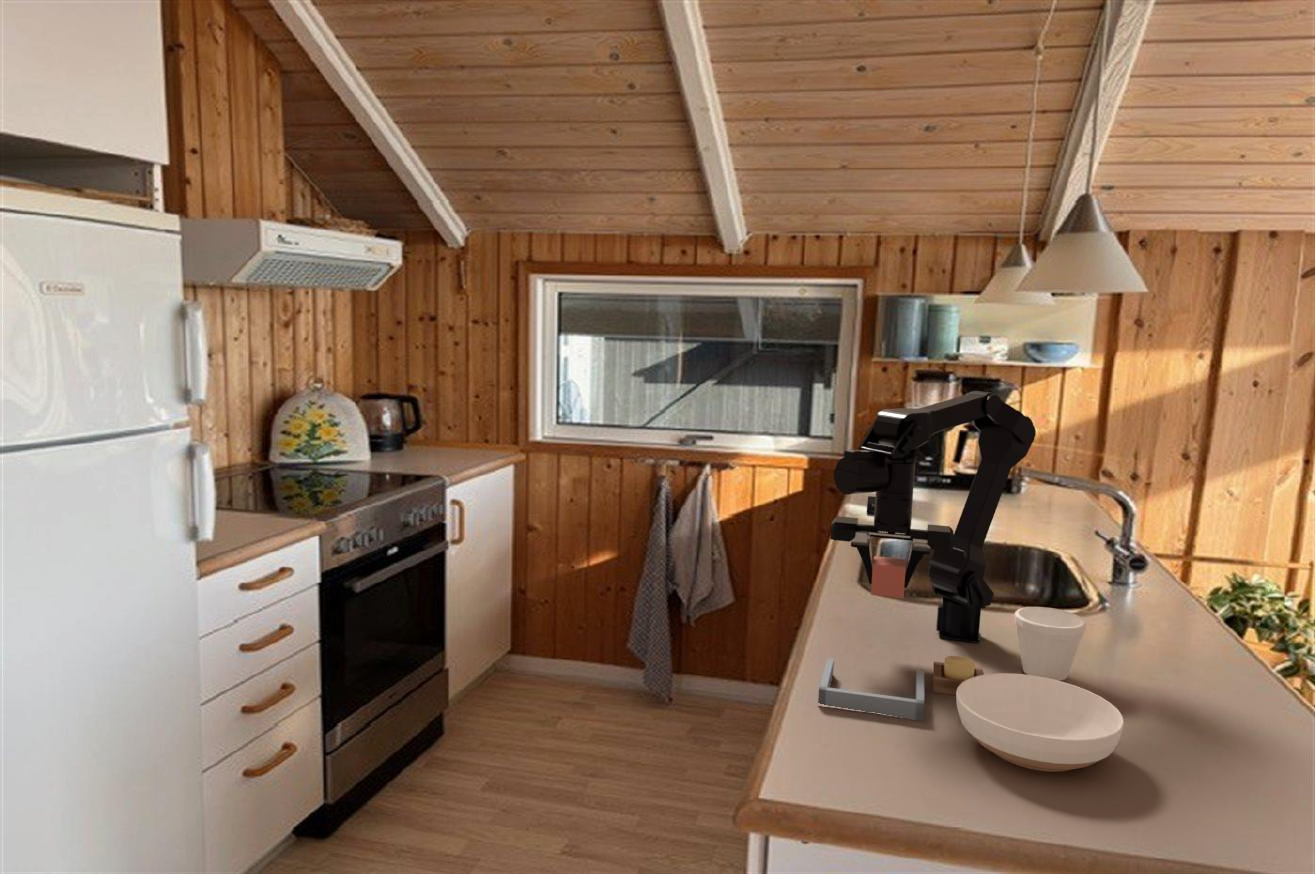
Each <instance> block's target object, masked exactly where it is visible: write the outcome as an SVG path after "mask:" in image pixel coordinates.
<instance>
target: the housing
mask: <svg viewBox="0 0 1315 874" xmlns="http://www.w3.org/2000/svg"><path fill="white" fill-rule="evenodd" d="M944 665H945V662H939V661H933V669H932V683H933V684H932V685H933V686H932V687H933V693H938V694H944V695H945V694H946V695H951V696H956V692H957V688H958V687H959V685H960V684H961V683H962V682H964V681H966V680H959V679H951V678H944ZM980 675H985V673H984V668H983V667H981V666H975V669H974V677H976V676H980Z"/></svg>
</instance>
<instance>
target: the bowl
mask: <svg viewBox="0 0 1315 874" xmlns="http://www.w3.org/2000/svg"><path fill="white" fill-rule="evenodd" d="M955 696H956V707H957V708H956V709H957V711H958V715H959V719H960V722H961V724H962V726H963V727H964V729H965V730H966V731H967V732H968V733H969V734H970V735H971V736H972V737H973V739H975V741H977V742H978V744H980V745H981V746H982V747H984V748H985V749H987V750H988V751H990V752H992V753H994V755H996V756H998V758H1000V759H1002V760H1004V761H1007V762H1008V763H1011V764H1014V765H1016V766H1018V767H1023V768H1026V769H1031V770H1035V771H1040V772H1052V773H1053V772H1055V773H1056V772H1065V771H1070V770H1077V769H1081V768H1082V769H1083V768H1087V767H1089V766H1092V765H1094V764H1095V763H1099V761H1101V760H1104V759H1106V758H1108V756H1110V755H1111V754H1112V753H1113V752H1114V750H1115V748H1116V746H1117V745H1118V743H1119V742H1120V739H1121V737H1122V733H1123V730H1124V725H1125V722H1124V721H1125V720H1124V717H1123V715H1122V713H1121V712H1120V710H1119V709H1118V708H1117V707H1116V706H1115V705H1113V703H1111V702H1110V701H1108V700H1106V699H1105V698H1104V697H1102V696H1100V695H1098V694H1096V693H1093V692H1092V691H1090V690H1088V689H1085V688H1083V687H1079V686H1078V685H1074V684H1071V683H1068V682H1064V681H1062V682H1061V681H1057V680H1053V679H1049V678H1044V677H1038V676H1032V675H1026V674H1022V673H1004V672H1003V673H987V674H984V675H980V676H976V677H973V678H969V679H967V680H966V681H964V682H962V683H961V684H960V685H959V687H958V688H957V692H956V695H955Z"/></svg>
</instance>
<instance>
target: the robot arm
mask: <svg viewBox="0 0 1315 874" xmlns="http://www.w3.org/2000/svg"><path fill="white" fill-rule="evenodd" d="M967 423H971V424H972V426H973V427H975V429H976V430H977V431H979V436H978V440H977V443H978V449H979V454H980V457H981V458H980V462H979V465H978V468H977V470H976V473H975V475H974V478H973V482H972V483H971V487H970V490H969V492H968V494H967V497H966V499H965V503H964V506H963V508H962V511H961V514H960V516H959V519H958V523H957V525H956V528H955V531H954V530H953V528H952V527H951V525H950V526H949V525H941V524H940V525H939V524H929V523H928V524H927V529H920V528H919V529H915V528H911V527H912V517H913V502H914V501H913V499H914V487H915V475H916V474H915V471H916V470H915V469H916V463H920V462H926V460H927V458H926V456H925V455H924V454H923V453H922V452H921V451H920V449H919V447H921V446H923V445H924V444H927V443H929V441H931V439H932V437H933V435H935V434H937V433H939V432H942V431H945V430H949V429H951V428H955V427H958V426H961V425H964V424H967ZM1036 433H1037V431H1036V427H1035V425H1034V423H1033V420H1032V419H1031V418H1030V417H1029V416H1026V415H1024V413H1022V412H1021V411H1020V410H1017V409H1016V408H1014V407H1013V406H1011V405H1009V404H1007V403H1006V402H1005V401H1003V400H1002V399H1001V398H1000V397H999V395H997V394H995V393H993V392H988V391H979V390H972V391H969V392H967V393H966V394H963V395H960V396H957V397H954V398H950V399H946V400H943V401H940V402H936V403H933V404H929V405H927V406H926V405H925V406H923V407H917V408H906V407H905V408H902V407H900V408H885V409H883V410H881V411H879V412H878V413H877V414H876V418H875V420H874V422H872V425H871V427H870V428H869V429H868V431H867V433H866V435H865V436H864V438H863V440H862V441H861V443H860V445H859V446H858V448H857V450H856V449H844V452H843V453H844V454H843V457H842V458H840V459H839V460H838V461H837V463H836V465H835V468H834V469H833V481H834V484H835V487H836V488H837V490H838V491H839V492H840V493H841V494H842V495H846V496H847V495H849V496H850V495H859V494H871V493H875V496H870V495H868V496H867V502H866V517H872V518H873V524H862V523H859V517H848V516H838V515H837V516H836V517H835V518H834V519H833V520H832V522H831V525H830V535H829V536H830V538H829V539H830V540H833V541H840V542H847V543H849V542H850V547H852V548H856V549H857V551H858V554H859V555H860V558H861V560H862V563H863V565H864V570H865V574H866V576H867V580H868V583H869V585H871V586H872V571H873V554H872V538H879V539H888V540H889V539H890V540H901V541H911V545H910V550H909V555H908V560H907V563H906V570H905V584H904V589H907V588H908V585H909V584H910V581H911V579H912V577H913V575H914V572H915V570H916V568H917V566H918V564H919V563H920V562H921V560H922V558H923V557H924V556H925V555H931V553H932V550H933V554H932V557H931V559H930V560H929V562H928V563H927V565H928V566H929V569H928V575H927V576H928V577H929V580H930V584H931V589H932V594H933V595H934V596H939V597H941V603H938V604H937V611H936V625H935V626H936V627H935V628H936V629H935V630H936V631H937V632H938V637H939V638H940V639H945V640H946V639H947V640H953V641H954V640H955V641H962V642H963V641H964V642H971V643H980V642H981V638H980V637H981V636H980V625H981V614H982V613H981V612H982V609H986V607H988V606H991V603H992V600H993V598H994V595H995V594H994V591H993V590H992V589H991V588H990V586H989V585H988V583H987V582H986V581H985V580H984V576H985V575H984V574H985V571H986V560H985V557H984V551H983V548H984V547H983V546H984V544H985V541H986V539H987V535H988V533H989V530H990V527H991V524H992V521H993V520H994V516H995V513H996V511H997V508H998V505H999V502H1000V500H1001V497H1002V495H1003V491H1004V489H1005V487H1006V483H1007V480H1008V478H1009V475H1010V472H1011V470H1012V469H1013V467H1015V466H1016V465H1018V463H1020V462H1021V461H1022V460H1023V459H1025V458H1026V456H1027V454H1028V452H1029V451H1030V449H1031V446H1032V445H1033V442H1034V440H1035V437H1036Z"/></svg>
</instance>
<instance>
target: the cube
mask: <svg viewBox="0 0 1315 874" xmlns="http://www.w3.org/2000/svg"><path fill="white" fill-rule="evenodd" d="M872 566H873V571H872V585H871V591H870V595H871V596H877V597H888V598H897V599H904V598H905V597H904V594H905V588H904V584H905V573H906V569H907V559H906V558H899V557H898V558H895V557H885V556H877V555H875V556H873V560H872Z"/></svg>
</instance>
